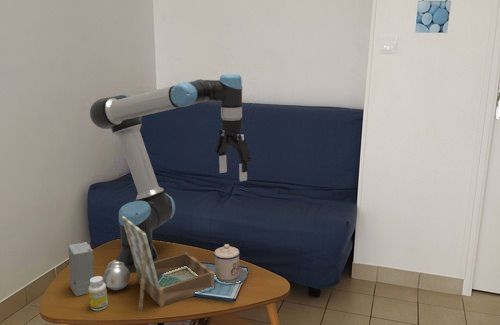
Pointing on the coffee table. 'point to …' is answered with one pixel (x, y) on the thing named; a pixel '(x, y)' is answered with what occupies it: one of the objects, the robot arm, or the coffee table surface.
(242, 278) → the trivet
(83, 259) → the skincare box
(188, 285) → the open wooden keepsake box
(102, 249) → the coffee table surface
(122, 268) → the silver metal rounded piece
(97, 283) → the supplement bottle
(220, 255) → the teacup with lid
